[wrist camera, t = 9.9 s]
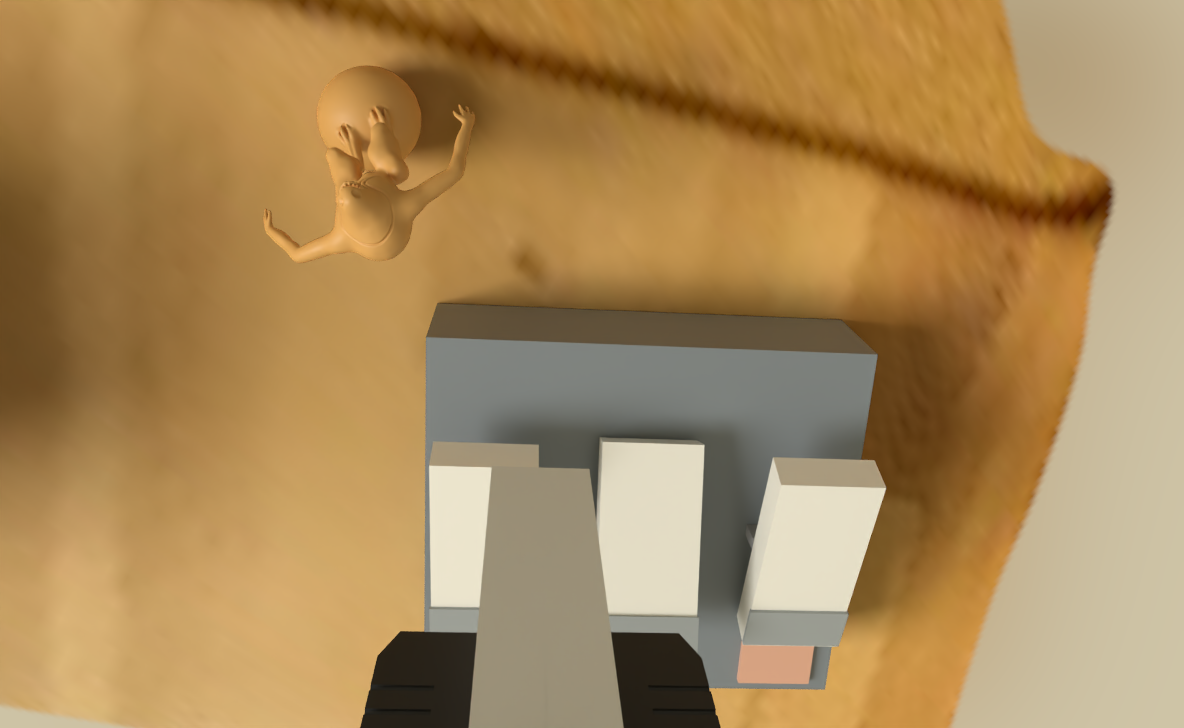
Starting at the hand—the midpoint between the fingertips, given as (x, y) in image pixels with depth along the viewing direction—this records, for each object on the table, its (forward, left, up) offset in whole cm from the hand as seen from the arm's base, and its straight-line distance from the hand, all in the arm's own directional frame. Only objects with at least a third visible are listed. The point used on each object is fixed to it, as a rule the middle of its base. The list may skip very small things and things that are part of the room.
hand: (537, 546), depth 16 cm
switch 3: (+12, +12, -21) cm, 27 cm away
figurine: (-3, -6, -29) cm, 29 cm away
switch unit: (+12, +5, -28) cm, 31 cm away
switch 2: (+12, +5, -21) cm, 25 cm away
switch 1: (+12, -1, -21) cm, 24 cm away
